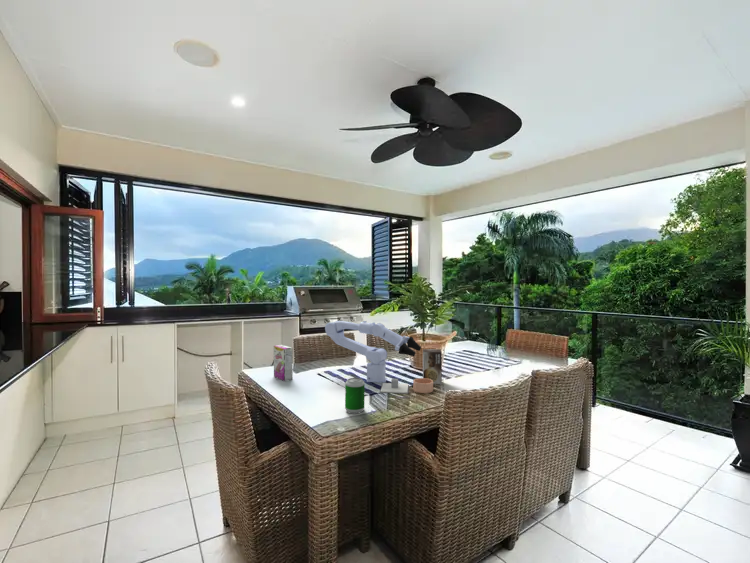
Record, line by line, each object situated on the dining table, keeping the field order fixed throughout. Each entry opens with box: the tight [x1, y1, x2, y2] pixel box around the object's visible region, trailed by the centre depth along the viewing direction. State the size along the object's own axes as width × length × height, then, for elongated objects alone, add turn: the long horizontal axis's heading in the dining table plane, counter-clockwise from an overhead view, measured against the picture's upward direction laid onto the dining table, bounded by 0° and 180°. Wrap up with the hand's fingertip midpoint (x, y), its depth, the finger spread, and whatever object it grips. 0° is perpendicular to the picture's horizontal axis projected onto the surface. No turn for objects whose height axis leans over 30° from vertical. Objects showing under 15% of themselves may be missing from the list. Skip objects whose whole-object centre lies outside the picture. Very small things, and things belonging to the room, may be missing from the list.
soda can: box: [344, 377, 366, 414], centre depth 136 cm, size 8×8×12 cm
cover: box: [380, 378, 409, 394], centre depth 163 cm, size 12×12×4 cm
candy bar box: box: [273, 344, 294, 382], centre depth 180 cm, size 11×5×16 cm, turn 44°
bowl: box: [412, 377, 434, 394], centre depth 161 cm, size 9×9×4 cm
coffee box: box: [422, 348, 443, 386], centre depth 173 cm, size 9×6×16 cm
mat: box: [378, 383, 410, 394], centre depth 163 cm, size 13×13×1 cm
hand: (417, 351), depth 168 cm, fingers open, 7 cm apart
